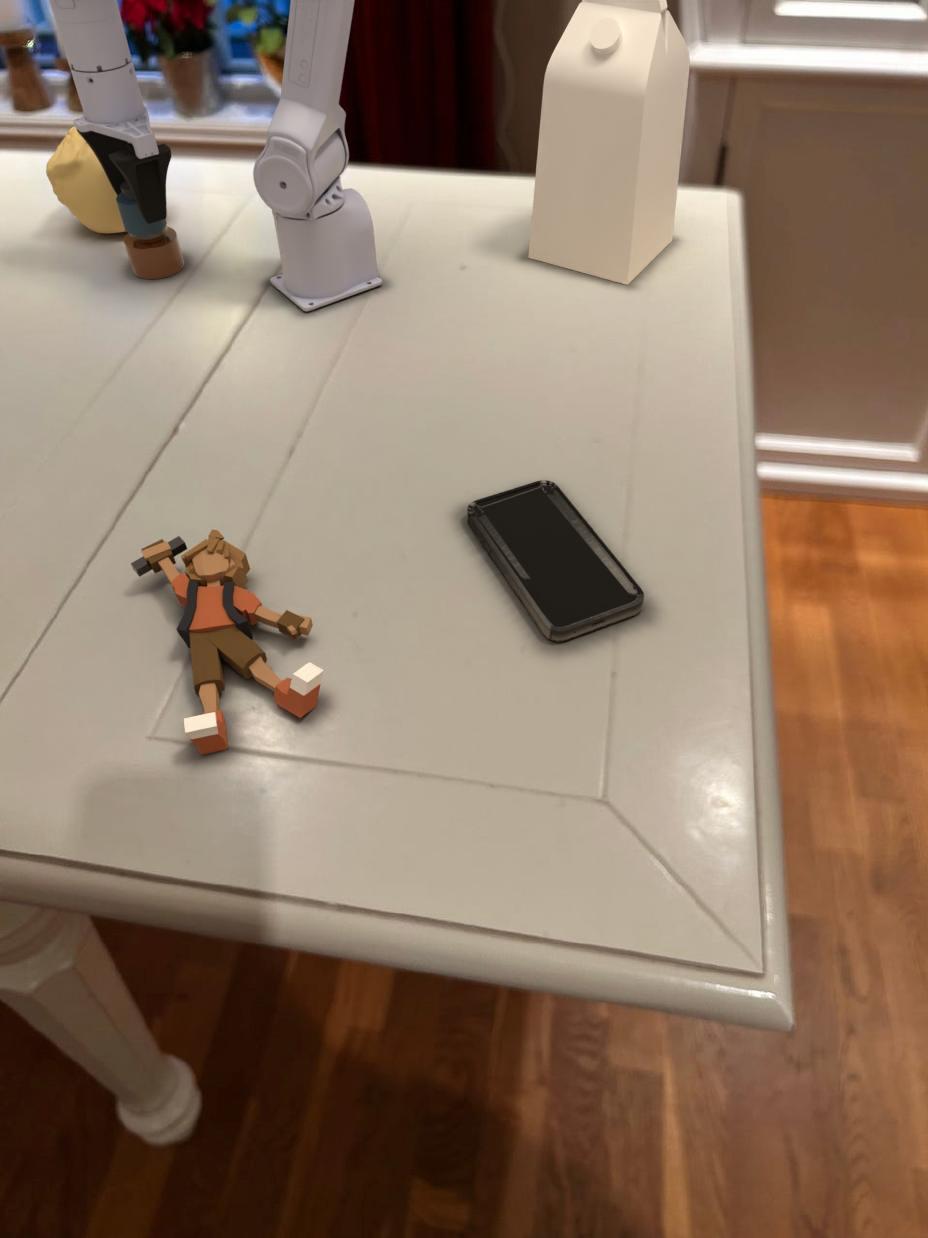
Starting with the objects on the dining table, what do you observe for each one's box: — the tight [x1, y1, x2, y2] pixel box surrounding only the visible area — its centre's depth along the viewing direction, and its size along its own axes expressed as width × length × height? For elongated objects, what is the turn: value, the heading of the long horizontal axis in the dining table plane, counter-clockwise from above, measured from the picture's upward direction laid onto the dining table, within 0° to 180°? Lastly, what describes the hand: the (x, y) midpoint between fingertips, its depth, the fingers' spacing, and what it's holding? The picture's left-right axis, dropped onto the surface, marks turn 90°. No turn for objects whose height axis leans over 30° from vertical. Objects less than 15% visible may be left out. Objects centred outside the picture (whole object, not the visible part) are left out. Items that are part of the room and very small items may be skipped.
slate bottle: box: [116, 181, 168, 236], centre depth 96 cm, size 4×4×4 cm
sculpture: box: [45, 125, 126, 234], centre depth 105 cm, size 12×12×11 cm
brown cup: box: [123, 224, 185, 280], centre depth 99 cm, size 6×6×5 cm
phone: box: [466, 479, 645, 643], centre depth 68 cm, size 8×1×15 cm
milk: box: [527, 0, 691, 286], centre depth 92 cm, size 12×12×26 cm
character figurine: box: [130, 529, 324, 756], centre depth 63 cm, size 12×5×18 cm
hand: (141, 207), depth 96 cm, fingers open, 7 cm apart
